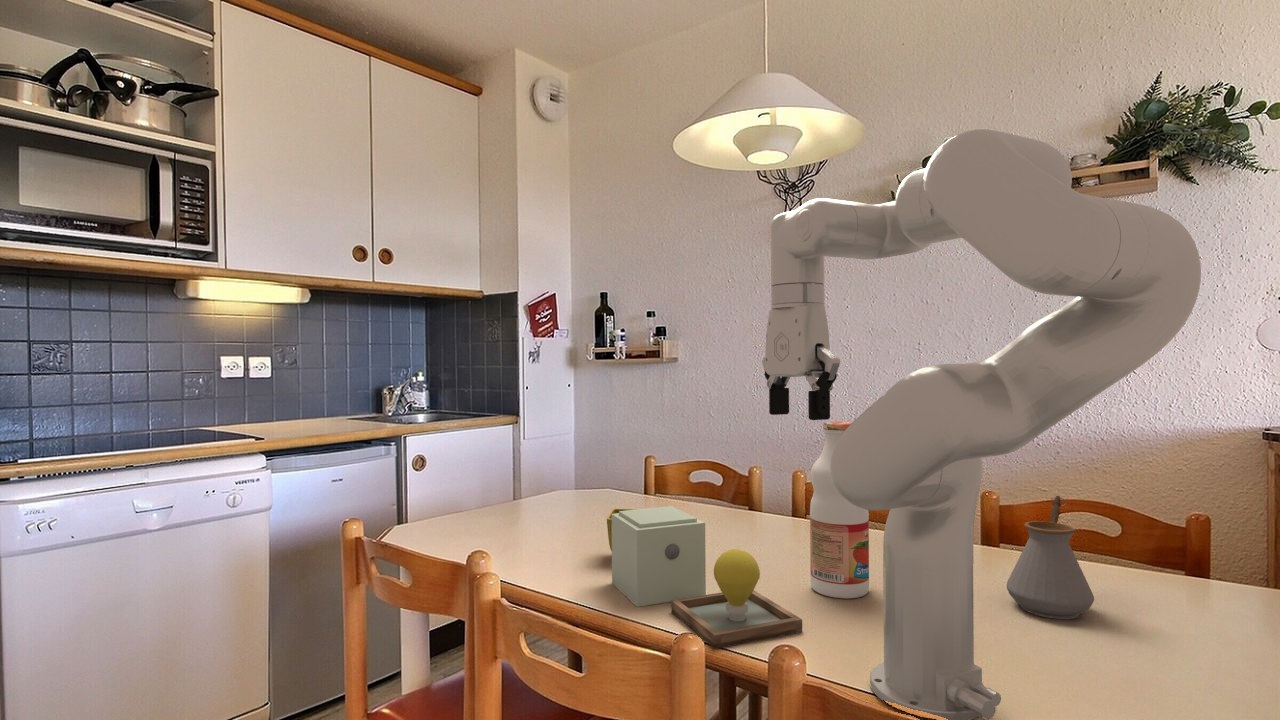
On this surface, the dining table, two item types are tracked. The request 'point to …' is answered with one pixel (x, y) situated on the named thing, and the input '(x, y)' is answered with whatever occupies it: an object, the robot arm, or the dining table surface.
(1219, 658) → the dining table surface
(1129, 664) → the dining table surface
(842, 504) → the fruit juice
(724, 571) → the light bulb
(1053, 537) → the coffee pot
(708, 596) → the tray
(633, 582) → the housing unit
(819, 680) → the dining table surface
